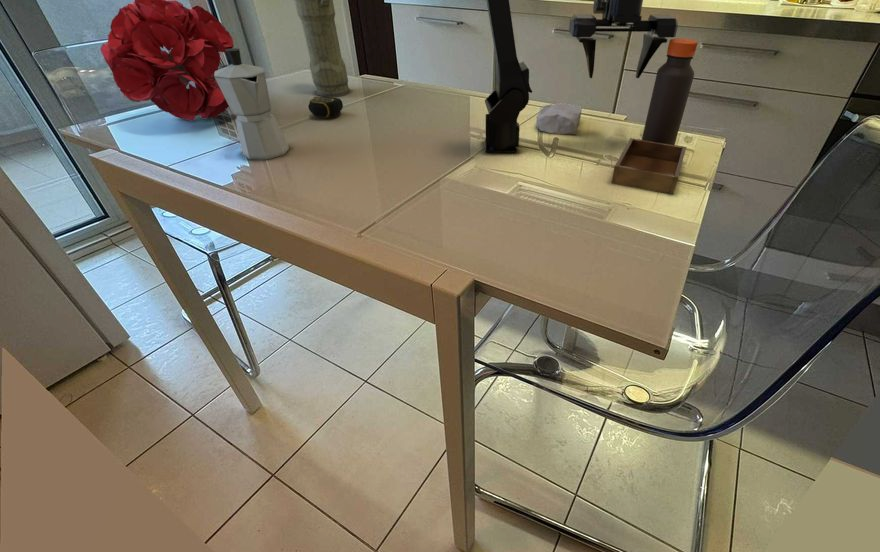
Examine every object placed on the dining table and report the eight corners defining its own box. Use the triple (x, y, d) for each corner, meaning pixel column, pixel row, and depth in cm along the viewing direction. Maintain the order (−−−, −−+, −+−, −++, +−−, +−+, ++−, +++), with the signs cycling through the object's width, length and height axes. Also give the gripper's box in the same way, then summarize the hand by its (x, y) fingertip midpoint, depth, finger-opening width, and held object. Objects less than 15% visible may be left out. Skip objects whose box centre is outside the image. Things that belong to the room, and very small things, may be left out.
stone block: (535, 139, 101) (579, 134, 98) (533, 117, 98) (578, 112, 96) (542, 124, 110) (583, 119, 107) (540, 104, 107) (582, 98, 105)
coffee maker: (302, 154, 88) (273, 51, 76) (259, 167, 83) (220, 58, 71) (267, 134, 95) (236, 38, 84) (225, 145, 91) (186, 44, 79)
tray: (611, 182, 81) (614, 165, 79) (627, 153, 92) (630, 137, 90) (673, 194, 78) (678, 177, 76) (681, 162, 89) (686, 146, 87)
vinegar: (643, 142, 97) (668, 35, 84) (675, 147, 95) (705, 39, 81) (636, 152, 92) (661, 42, 79) (669, 158, 90) (700, 46, 77)
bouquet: (200, 126, 117) (76, 92, 88) (205, 28, 112) (75, -41, 83) (273, 141, 114) (169, 111, 85) (282, 42, 109) (174, -26, 80)
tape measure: (345, 111, 108) (342, 95, 106) (336, 121, 103) (332, 104, 100) (318, 110, 108) (314, 94, 106) (307, 120, 103) (303, 102, 101)
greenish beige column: (334, 99, 115) (296, -81, 92) (305, 91, 120) (262, -82, 97) (360, 92, 120) (331, -80, 97) (332, 84, 125) (297, -81, 102)
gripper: (668, -26, 82) (649, 67, 93) (569, -27, 82) (561, 67, 92) (689, -20, 74) (665, 82, 84) (579, -21, 74) (568, 82, 84)
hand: (613, 77), depth 87 cm, fingers open, 9 cm apart
